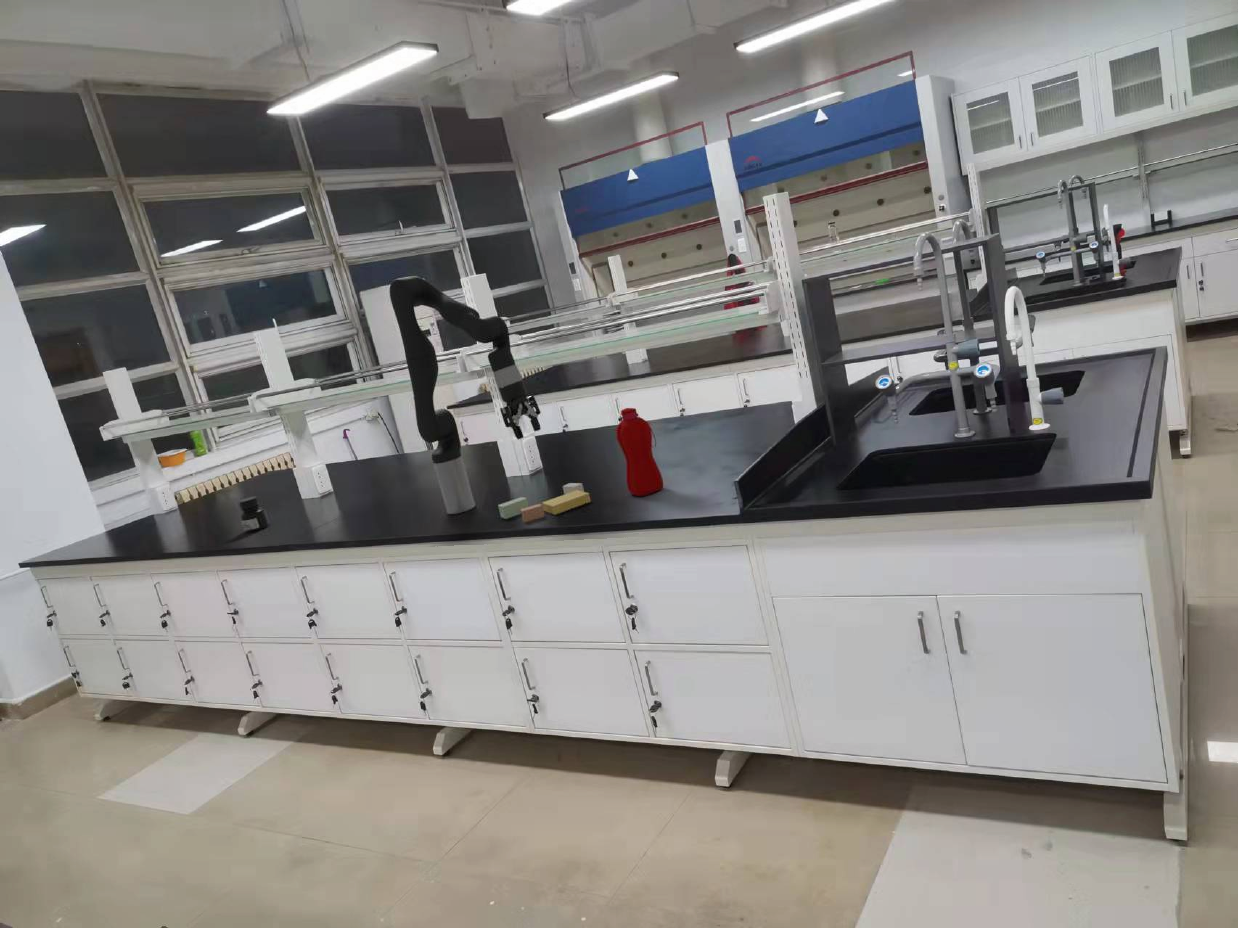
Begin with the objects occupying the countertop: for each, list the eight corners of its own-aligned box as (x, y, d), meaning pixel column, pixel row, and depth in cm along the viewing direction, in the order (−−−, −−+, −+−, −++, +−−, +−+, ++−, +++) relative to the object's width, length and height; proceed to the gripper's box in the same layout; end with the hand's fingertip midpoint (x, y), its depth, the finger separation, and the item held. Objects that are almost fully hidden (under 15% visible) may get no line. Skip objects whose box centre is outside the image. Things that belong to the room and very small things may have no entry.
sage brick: (501, 517, 260) (497, 505, 259) (525, 509, 264) (521, 496, 263) (505, 519, 257) (502, 506, 256) (530, 510, 260) (526, 498, 259)
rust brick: (524, 522, 248) (521, 511, 247) (523, 520, 251) (520, 509, 250) (544, 517, 249) (541, 505, 249) (543, 514, 252) (540, 503, 251)
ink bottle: (240, 533, 327) (230, 503, 324) (260, 525, 334) (250, 495, 331) (254, 533, 321) (244, 502, 318) (275, 524, 328) (265, 494, 325)
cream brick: (565, 496, 267) (562, 486, 266) (572, 493, 269) (569, 483, 268) (577, 497, 263) (574, 486, 262) (584, 494, 265) (582, 483, 264)
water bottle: (673, 486, 248) (654, 403, 243) (640, 498, 244) (621, 413, 239) (657, 483, 257) (639, 401, 251) (626, 494, 252) (606, 412, 247)
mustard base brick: (544, 512, 256) (541, 502, 255) (579, 499, 261) (577, 490, 260) (555, 516, 249) (552, 506, 248) (591, 502, 254) (588, 493, 253)
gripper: (515, 380, 262) (534, 431, 264) (485, 391, 251) (505, 444, 253) (533, 374, 258) (552, 425, 260) (504, 385, 246) (524, 438, 248)
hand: (529, 434), depth 256 cm, fingers open, 8 cm apart
